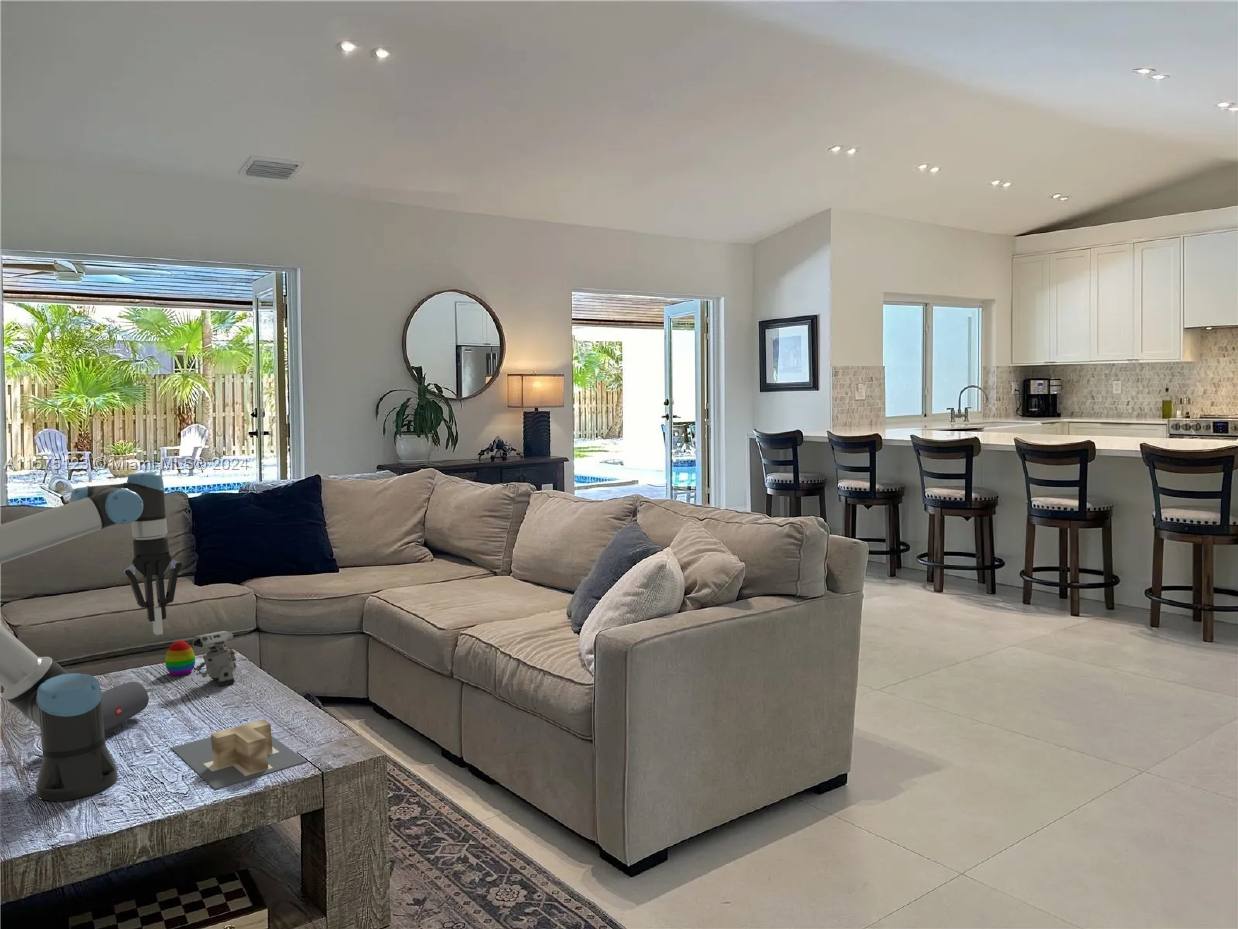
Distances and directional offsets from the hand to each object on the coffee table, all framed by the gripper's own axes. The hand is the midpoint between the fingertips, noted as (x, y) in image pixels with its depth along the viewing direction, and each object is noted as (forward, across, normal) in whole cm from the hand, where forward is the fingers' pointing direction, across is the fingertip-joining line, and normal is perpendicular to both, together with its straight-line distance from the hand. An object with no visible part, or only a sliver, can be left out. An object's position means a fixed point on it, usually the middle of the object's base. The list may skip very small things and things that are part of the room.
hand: (158, 633), depth 223 cm
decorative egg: (+27, -19, -56) cm, 65 cm away
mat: (+26, -9, +23) cm, 36 cm away
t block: (+26, -9, +31) cm, 41 cm away
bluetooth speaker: (+27, +10, -17) cm, 33 cm away
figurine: (+27, -23, -37) cm, 51 cm away
